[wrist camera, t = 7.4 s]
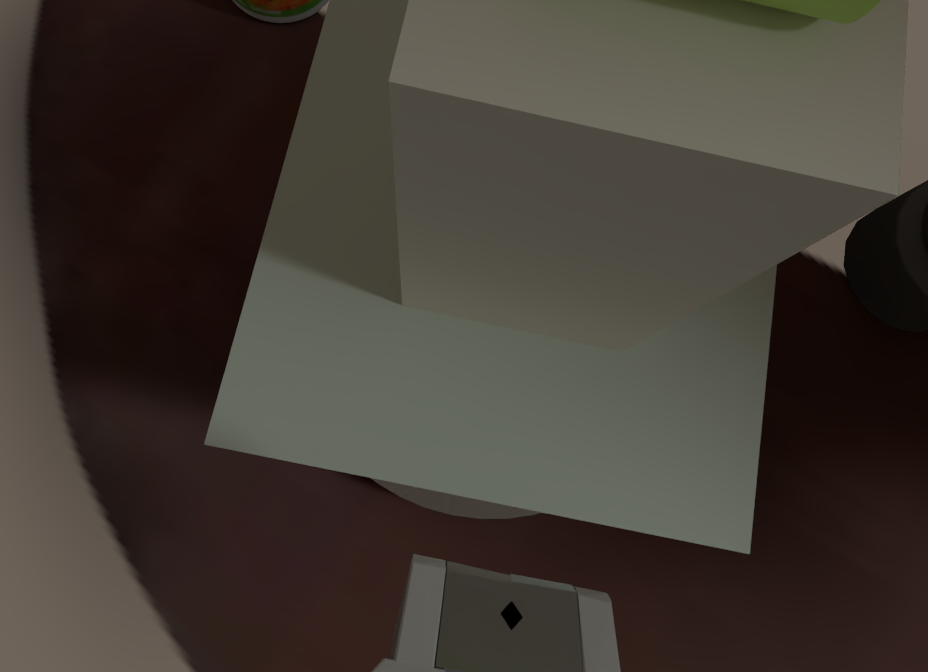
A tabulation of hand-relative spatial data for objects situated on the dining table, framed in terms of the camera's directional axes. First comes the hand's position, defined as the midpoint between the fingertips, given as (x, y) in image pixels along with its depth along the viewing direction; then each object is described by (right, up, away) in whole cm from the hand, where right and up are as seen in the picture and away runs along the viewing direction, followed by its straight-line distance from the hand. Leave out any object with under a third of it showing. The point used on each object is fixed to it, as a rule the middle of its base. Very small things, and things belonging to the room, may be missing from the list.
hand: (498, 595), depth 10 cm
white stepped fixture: (+1, +6, +9) cm, 11 cm away
